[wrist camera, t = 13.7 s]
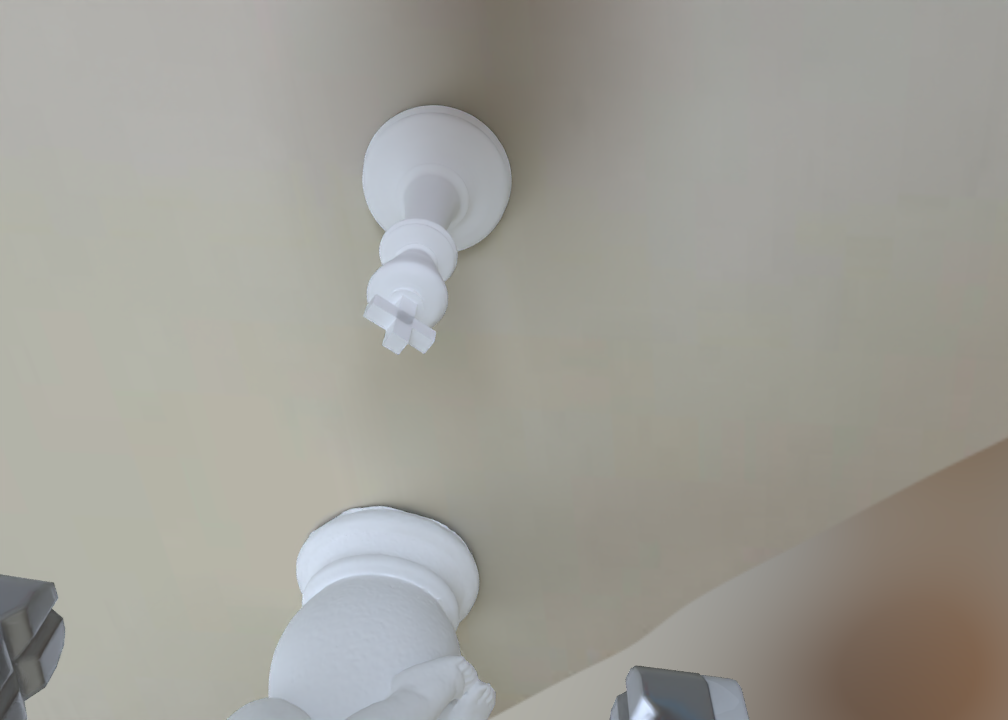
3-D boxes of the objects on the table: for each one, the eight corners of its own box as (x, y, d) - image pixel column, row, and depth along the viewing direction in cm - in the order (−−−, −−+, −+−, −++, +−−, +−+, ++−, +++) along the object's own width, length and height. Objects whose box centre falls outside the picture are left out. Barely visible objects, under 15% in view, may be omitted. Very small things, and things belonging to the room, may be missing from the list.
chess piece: (416, 71, 23) (357, 198, 15) (541, 166, 25) (550, 327, 17) (336, 192, 26) (246, 359, 17) (455, 272, 27) (425, 459, 19)
